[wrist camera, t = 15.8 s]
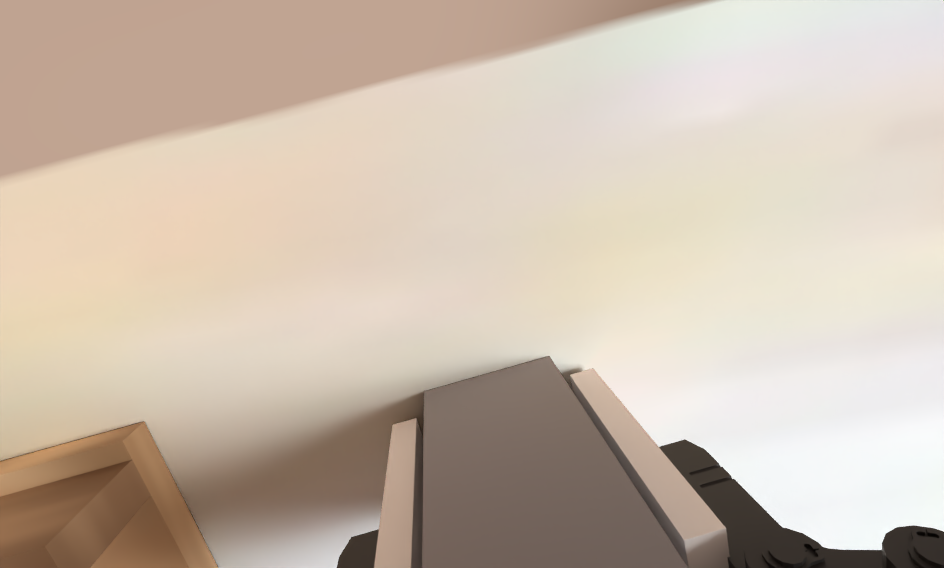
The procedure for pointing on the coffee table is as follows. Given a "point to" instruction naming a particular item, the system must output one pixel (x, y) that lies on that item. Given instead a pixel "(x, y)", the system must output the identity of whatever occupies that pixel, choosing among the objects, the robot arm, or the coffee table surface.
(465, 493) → the charcoal plug
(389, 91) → the coffee table surface
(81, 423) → the coffee table surface
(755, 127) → the coffee table surface
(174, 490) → the wooden ridged block
